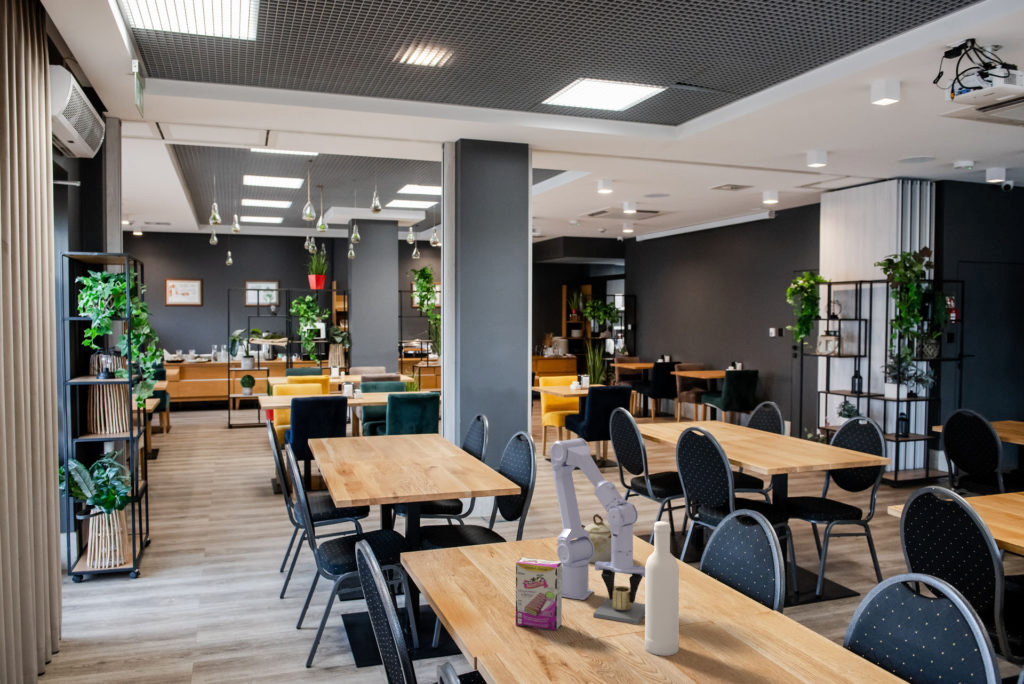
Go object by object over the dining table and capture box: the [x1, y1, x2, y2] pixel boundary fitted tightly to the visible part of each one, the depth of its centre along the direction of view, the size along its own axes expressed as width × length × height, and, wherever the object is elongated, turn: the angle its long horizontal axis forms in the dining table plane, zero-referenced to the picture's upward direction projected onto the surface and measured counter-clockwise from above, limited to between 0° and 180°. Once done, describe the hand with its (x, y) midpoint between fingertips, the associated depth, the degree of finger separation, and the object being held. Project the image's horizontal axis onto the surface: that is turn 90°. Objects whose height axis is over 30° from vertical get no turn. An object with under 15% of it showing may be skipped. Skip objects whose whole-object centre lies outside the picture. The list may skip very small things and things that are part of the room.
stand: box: [592, 597, 645, 625], centre depth 199 cm, size 12×12×6 cm
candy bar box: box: [515, 557, 563, 632], centre depth 191 cm, size 11×5×16 cm, turn 71°
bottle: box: [644, 520, 680, 657], centre depth 177 cm, size 8×8×30 cm
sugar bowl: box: [575, 513, 611, 564], centre depth 245 cm, size 20×15×15 cm
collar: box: [612, 585, 632, 610], centre depth 199 cm, size 5×5×4 cm
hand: (622, 600), depth 199 cm, fingers closed on collar, 5 cm apart
